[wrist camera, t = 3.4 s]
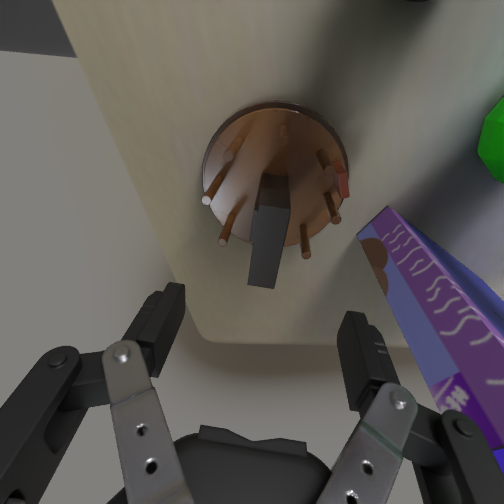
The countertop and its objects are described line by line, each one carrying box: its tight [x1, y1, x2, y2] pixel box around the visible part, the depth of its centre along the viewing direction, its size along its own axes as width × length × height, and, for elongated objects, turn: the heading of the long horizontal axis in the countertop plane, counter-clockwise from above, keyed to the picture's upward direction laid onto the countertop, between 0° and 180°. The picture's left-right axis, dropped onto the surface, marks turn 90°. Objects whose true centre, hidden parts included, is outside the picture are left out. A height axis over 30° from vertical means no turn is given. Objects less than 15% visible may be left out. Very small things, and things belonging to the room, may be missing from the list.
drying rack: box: [201, 108, 349, 289], centre depth 24 cm, size 15×15×14 cm
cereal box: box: [357, 205, 504, 474], centre depth 25 cm, size 17×5×24 cm, turn 56°
